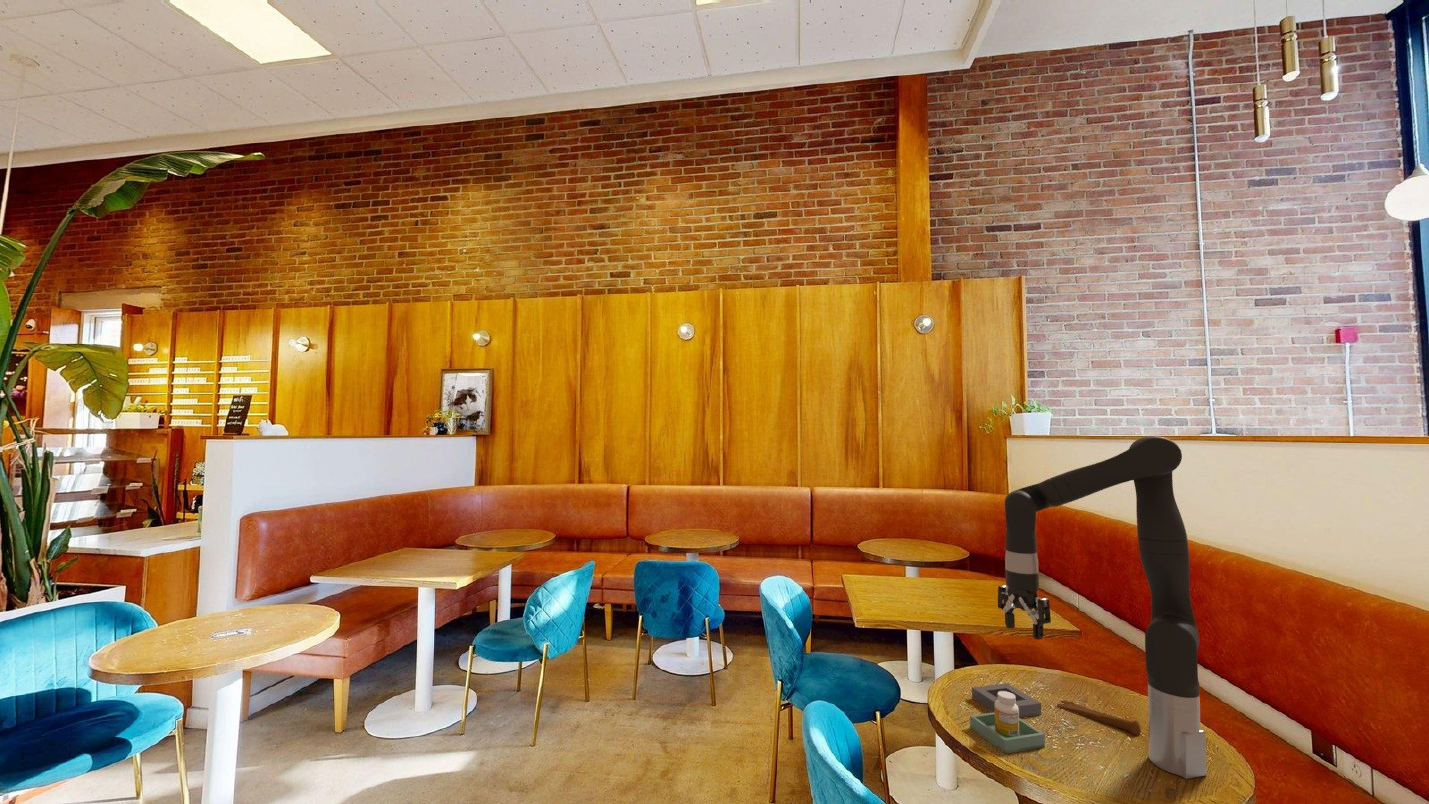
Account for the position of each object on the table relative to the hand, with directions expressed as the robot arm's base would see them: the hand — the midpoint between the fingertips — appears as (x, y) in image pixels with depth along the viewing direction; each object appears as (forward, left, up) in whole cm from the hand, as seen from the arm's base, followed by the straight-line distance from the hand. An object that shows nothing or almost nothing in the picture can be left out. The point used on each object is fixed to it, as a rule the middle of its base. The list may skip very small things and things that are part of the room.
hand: (1023, 633), depth 143 cm
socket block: (+11, -5, -24) cm, 27 cm away
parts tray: (-2, +7, -24) cm, 25 cm away
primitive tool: (0, -24, -25) cm, 34 cm away
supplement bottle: (-2, +7, -24) cm, 25 cm away
